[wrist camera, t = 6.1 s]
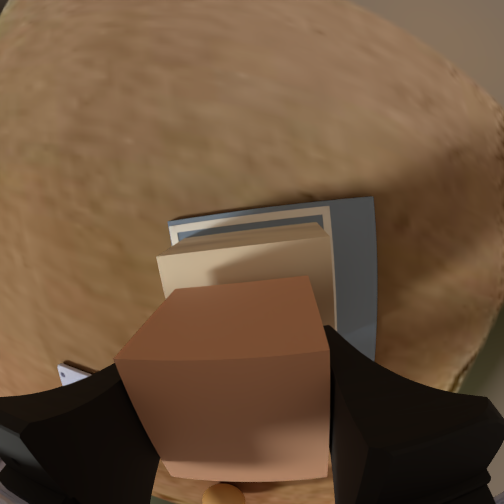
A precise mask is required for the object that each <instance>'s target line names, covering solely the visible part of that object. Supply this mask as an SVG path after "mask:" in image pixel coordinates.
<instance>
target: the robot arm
mask: <svg viewBox="0 0 504 504" xmlns="http://www.w3.org/2000/svg"><path fill="white" fill-rule="evenodd" d="M323 327H324V331H325V334H326V338H327V341H328V345H329V349H330V429H329V448H330V454H331V462H332V472H333V482H334V494H335V504H504V492H502V493H500V494H499V495H497V496H495V497H493V496H492V494H491V492H490V490H489V488H488V486H487V484H488V483H489V482H490V480H491V476H490V475H489V473H488V471H487V467H488V466H489V464H490V463H491V461H492V459H493V458H494V456H495V455H496V453H497V452H498V450H499V448H500V447H501V445H502V443H503V440H504V418H503V417H502V416H501V414H500V413H499V412H498V410H497V409H496V408H495V406H494V405H493V404H492V402H491V401H490V400H489V399H488V398H487V397H482V396H473V395H466V394H458V393H452V392H448V391H444V390H440V389H436V388H432V387H429V386H426V385H423V384H420V383H417V382H414V381H412V380H409V379H407V378H404V377H402V376H400V375H398V374H396V373H394V372H392V371H390V370H388V369H386V368H384V367H382V366H381V365H379V364H377V363H376V362H374V361H373V360H371V359H370V358H368V357H367V356H365V355H364V354H362V353H361V352H360V351H359V350H357V349H356V348H355V347H354V346H352V345H351V344H350V343H349V342H348V341H347V340H345V339H344V338H343V337H342V336H341V335H340V334H339V333H338V332H337V331H336V330H335V329H334V328H333V327H331V326H330V325H325V326H323ZM57 367H58V371H59V375H60V378H61V382H62V385H63V386H61V387H58V388H55V389H52V390H48V391H44V392H39V393H34V394H28V395H21V396H9V397H0V504H150V499H151V494H152V489H153V485H154V480H155V475H156V472H157V468H158V464H159V460H160V456H159V454H158V453H157V451H156V449H155V447H154V446H153V444H152V442H151V440H150V438H149V436H148V434H147V432H146V431H145V429H144V427H143V425H142V423H141V421H140V419H139V417H138V415H137V412H136V410H135V408H134V406H133V404H132V402H131V400H130V397H129V395H128V393H127V391H126V388H125V386H124V384H123V381H122V379H121V377H120V374H119V372H118V369H117V367H116V364H115V363H114V364H112V365H110V366H108V367H106V368H105V369H103V370H101V371H99V372H97V373H95V374H93V375H92V374H89V373H86V372H84V371H81V370H78V369H76V368H73V367H70V366H68V365H65V364H63V363H60V364H59V365H58V366H57Z"/></svg>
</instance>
